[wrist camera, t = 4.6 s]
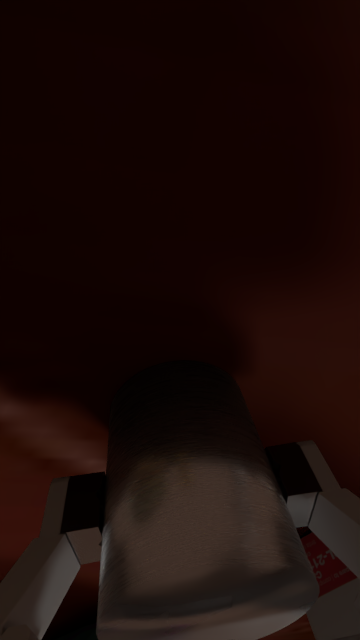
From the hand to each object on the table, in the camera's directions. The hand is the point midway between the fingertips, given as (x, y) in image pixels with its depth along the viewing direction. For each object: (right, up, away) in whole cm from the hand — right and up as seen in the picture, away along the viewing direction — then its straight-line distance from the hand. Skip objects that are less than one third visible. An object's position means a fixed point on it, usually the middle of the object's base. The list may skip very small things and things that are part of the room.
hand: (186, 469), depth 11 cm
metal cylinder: (0, +1, +2) cm, 2 cm away
